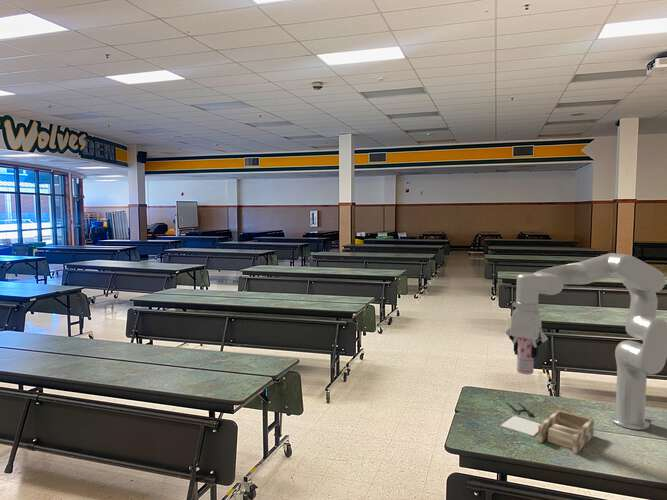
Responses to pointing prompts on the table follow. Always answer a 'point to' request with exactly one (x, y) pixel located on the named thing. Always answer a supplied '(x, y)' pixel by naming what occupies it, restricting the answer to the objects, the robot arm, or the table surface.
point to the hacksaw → (521, 410)
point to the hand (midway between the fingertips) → (525, 355)
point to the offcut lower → (560, 442)
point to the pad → (521, 426)
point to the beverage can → (525, 356)
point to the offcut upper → (561, 432)
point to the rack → (570, 421)
